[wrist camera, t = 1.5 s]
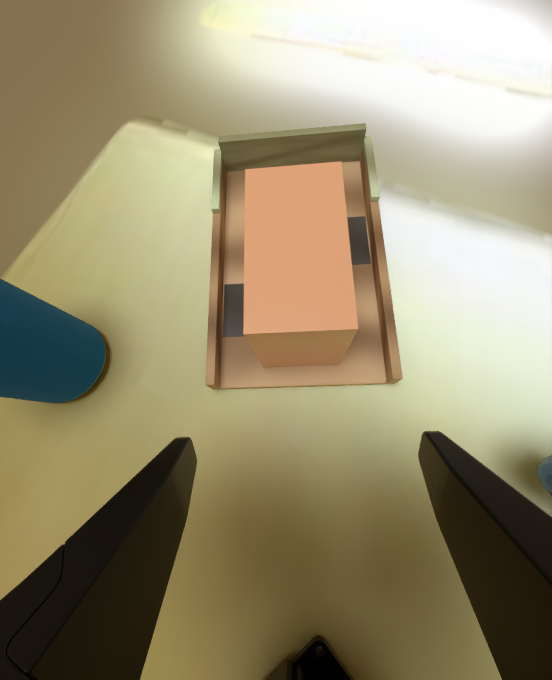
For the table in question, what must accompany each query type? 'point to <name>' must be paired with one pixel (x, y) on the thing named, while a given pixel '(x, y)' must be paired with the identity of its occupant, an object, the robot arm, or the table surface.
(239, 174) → the box
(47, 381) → the beverage can
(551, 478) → the grapes
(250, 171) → the brick
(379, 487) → the table surface
